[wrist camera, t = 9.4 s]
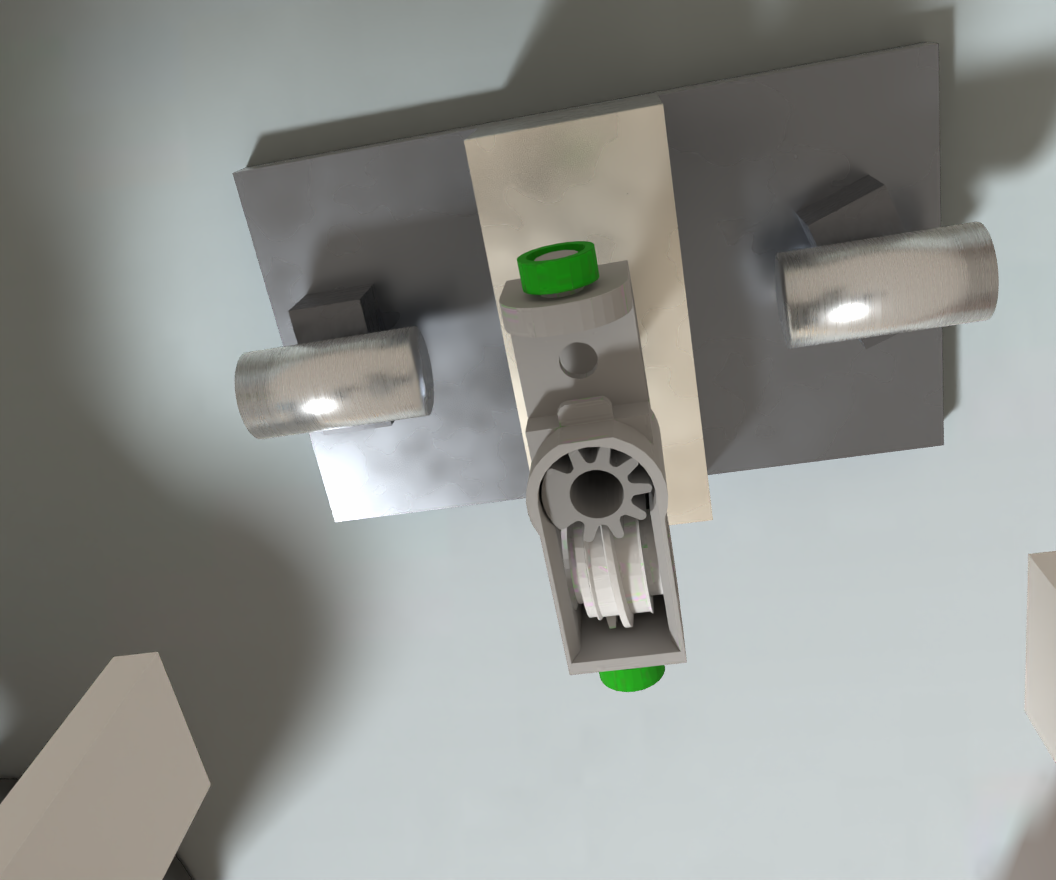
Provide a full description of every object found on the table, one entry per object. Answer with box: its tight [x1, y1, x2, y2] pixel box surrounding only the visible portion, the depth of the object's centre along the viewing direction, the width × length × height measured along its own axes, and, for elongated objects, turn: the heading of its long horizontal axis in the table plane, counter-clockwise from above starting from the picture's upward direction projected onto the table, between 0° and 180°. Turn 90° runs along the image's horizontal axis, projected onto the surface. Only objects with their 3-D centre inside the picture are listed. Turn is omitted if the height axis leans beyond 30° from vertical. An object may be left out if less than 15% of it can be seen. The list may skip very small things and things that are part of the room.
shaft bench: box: [233, 42, 999, 525], centre depth 31 cm, size 22×13×6 cm, turn 100°
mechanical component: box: [499, 241, 687, 692], centre depth 25 cm, size 3×10×10 cm, turn 11°
